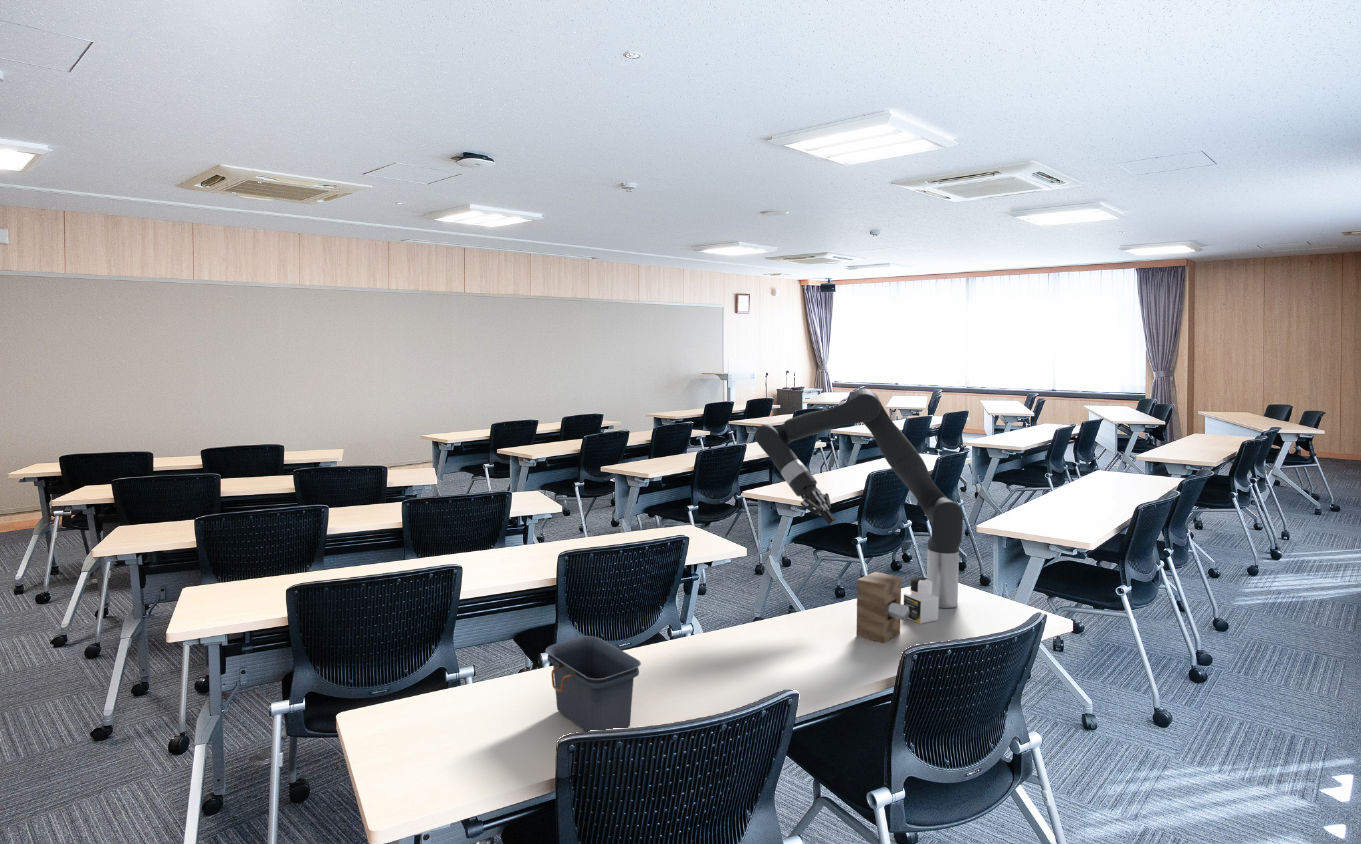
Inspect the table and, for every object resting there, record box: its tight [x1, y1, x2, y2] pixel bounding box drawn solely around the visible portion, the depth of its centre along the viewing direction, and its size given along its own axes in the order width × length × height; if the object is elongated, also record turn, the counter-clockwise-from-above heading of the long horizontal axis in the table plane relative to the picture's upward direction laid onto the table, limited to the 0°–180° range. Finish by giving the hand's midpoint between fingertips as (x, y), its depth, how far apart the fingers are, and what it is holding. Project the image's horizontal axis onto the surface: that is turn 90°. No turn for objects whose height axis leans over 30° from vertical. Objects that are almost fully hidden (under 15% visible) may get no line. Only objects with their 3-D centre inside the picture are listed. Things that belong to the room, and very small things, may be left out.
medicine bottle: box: [903, 576, 939, 625], centre depth 220 cm, size 7×7×12 cm
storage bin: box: [545, 635, 642, 732], centre depth 158 cm, size 21×16×14 cm
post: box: [855, 571, 902, 644], centre depth 207 cm, size 10×8×16 cm
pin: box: [888, 602, 909, 621], centre depth 206 cm, size 6×13×6 cm, turn 47°
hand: (832, 522), depth 223 cm, fingers closed
